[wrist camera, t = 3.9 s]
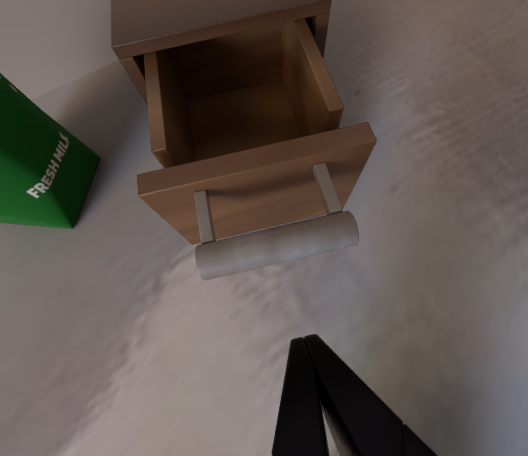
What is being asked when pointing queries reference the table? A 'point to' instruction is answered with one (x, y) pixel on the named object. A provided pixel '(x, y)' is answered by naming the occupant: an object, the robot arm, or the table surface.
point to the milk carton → (39, 165)
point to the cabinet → (200, 25)
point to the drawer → (251, 148)
